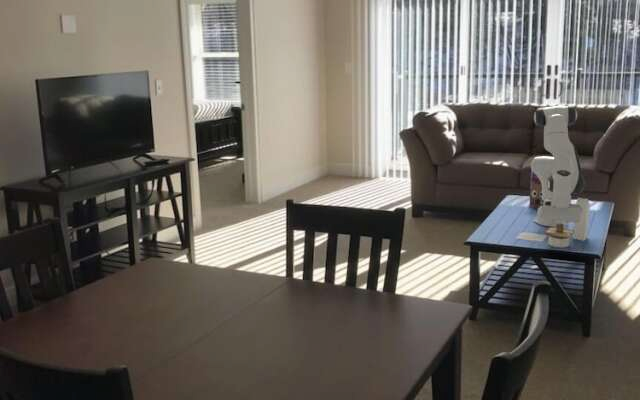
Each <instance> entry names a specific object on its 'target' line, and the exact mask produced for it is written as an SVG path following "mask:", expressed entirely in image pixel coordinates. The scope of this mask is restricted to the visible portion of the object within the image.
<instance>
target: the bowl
mask: <svg viewBox="0 0 640 400" xmlns="http://www.w3.org/2000/svg"><path fill="white" fill-rule="evenodd" d="M570 241H571V236H570V237H569V238H566V237H558V236H551V235H548V245H550V246H551V247H555V248H567V247H569V246H570Z"/></svg>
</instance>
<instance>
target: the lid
mask: <svg viewBox="0 0 640 400" xmlns="http://www.w3.org/2000/svg"><path fill="white" fill-rule="evenodd" d="M573 233H574V230H573V229H567V228H566V230H564V229H563V224H562V223H557V229H556V228H553V227H552V226H549V228H548V229H547V230H546V231H545V232H544V235H548V236H549V235H551V236H558V237H566V238H569V237H570V238H571V237H572V236H573Z"/></svg>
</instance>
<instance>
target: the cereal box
mask: <svg viewBox="0 0 640 400" xmlns="http://www.w3.org/2000/svg"><path fill="white" fill-rule="evenodd" d="M541 199H542V184H541V181H540V179H539V178H538V176H537V175H536V174H535V173H534V172H533V171H532V169H531V171H530V187H529V204H528V205H529V207H530V208H537V209H538V208H539V207H541Z"/></svg>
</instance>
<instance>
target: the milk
mask: <svg viewBox="0 0 640 400" xmlns="http://www.w3.org/2000/svg"><path fill="white" fill-rule="evenodd" d="M575 204H579V205H581V206H582V208H583V211H582V213H581V214H582V220H581V222H579V223H576V222H573V229H572V230H574V233H573V234H572V239H573V240H576V239H577V240H576V241H581V242H582V241H583V242H584V241H585V240H587V239H588V236H589V235H588V234H589V222H590V221H589V220H590V209H591V203H590V202H589V199H588V198H582V197H581V198H580V197H577V198H576V202H575ZM581 206H580V207H581Z"/></svg>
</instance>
